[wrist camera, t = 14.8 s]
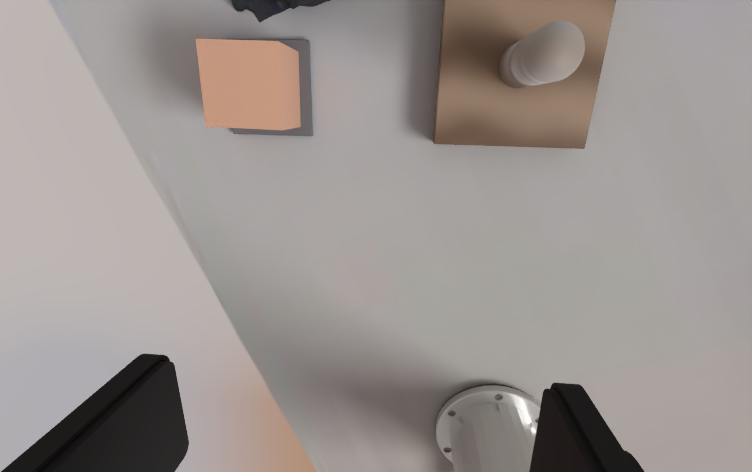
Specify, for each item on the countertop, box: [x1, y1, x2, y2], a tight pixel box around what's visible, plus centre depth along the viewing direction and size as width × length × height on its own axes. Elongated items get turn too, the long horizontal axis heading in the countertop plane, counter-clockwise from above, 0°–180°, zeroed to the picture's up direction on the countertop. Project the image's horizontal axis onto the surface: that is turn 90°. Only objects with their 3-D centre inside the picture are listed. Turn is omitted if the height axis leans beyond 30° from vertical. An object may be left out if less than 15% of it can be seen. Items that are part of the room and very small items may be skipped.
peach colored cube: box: [196, 39, 301, 130], centre depth 29 cm, size 6×6×5 cm
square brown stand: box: [433, 0, 616, 149], centre depth 25 cm, size 12×12×9 cm
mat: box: [227, 39, 313, 136], centre depth 31 cm, size 8×7×1 cm
